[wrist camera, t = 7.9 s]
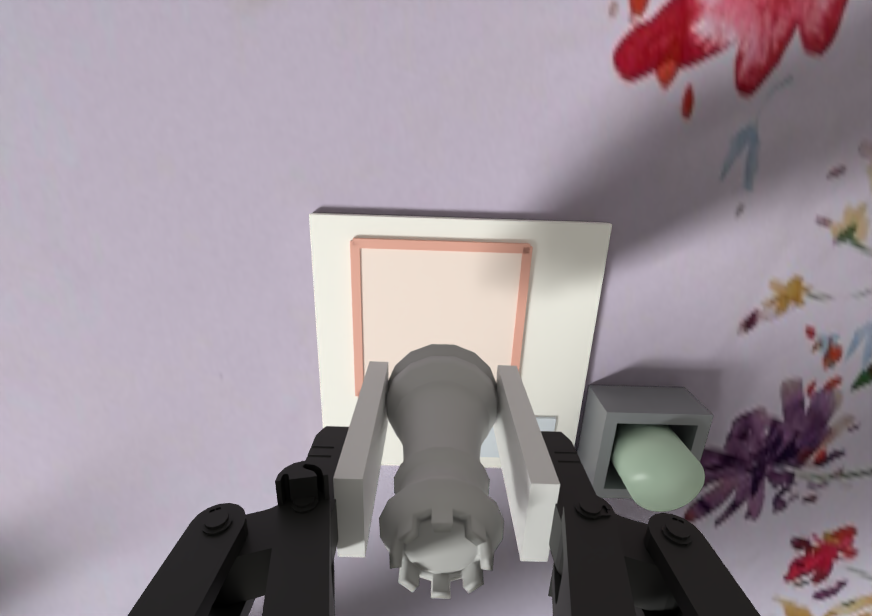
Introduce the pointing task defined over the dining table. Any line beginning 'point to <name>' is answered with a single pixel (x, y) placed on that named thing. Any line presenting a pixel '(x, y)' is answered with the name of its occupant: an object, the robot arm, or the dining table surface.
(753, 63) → the dining table surface
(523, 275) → the cream square board
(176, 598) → the robot arm
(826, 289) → the dining table surface
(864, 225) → the dining table surface
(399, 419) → the rook chess piece
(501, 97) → the dining table surface
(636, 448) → the button
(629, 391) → the button housing
